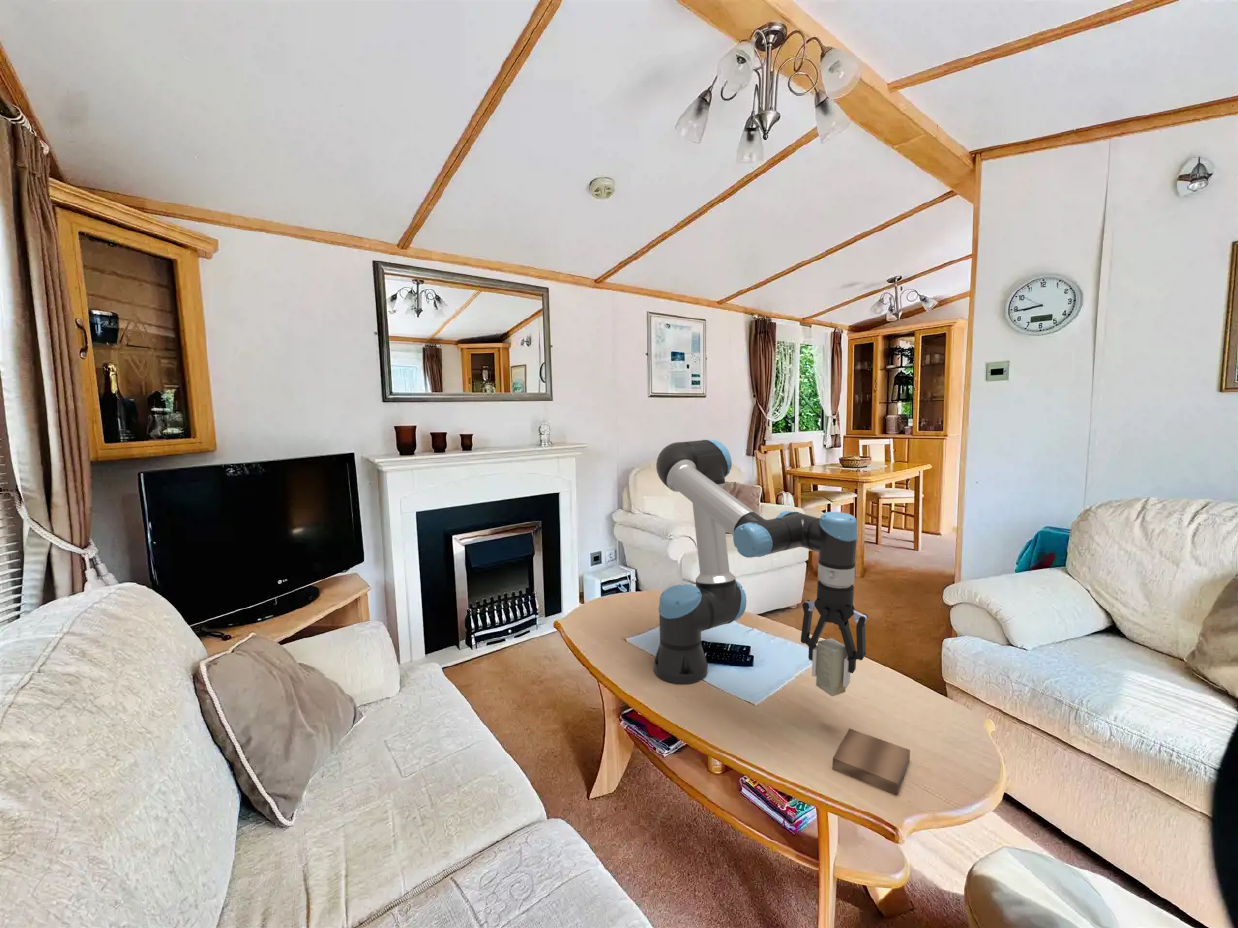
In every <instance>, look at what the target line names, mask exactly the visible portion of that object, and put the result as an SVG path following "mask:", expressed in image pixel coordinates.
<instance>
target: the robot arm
mask: <svg viewBox="0 0 1238 928" xmlns="http://www.w3.org/2000/svg"><path fill="white" fill-rule="evenodd" d="M732 464H733V463H732V457H731V453H730V451H729V450H728V448H727V446H725V445H724V444H723V443H722V442H720V441H719V440H717V439H716V440H715V439H701V440H700V439H699V440H691V441H690V440H689V441H676V442H672V443H670V444H668V445H666V446H665V447H664V448H663V449H662V450H661V451H660V452H659V454H658V456H657V459H656V464H655V469H656V473H657V476H658V477H659V479H660V481H661V482H662V483H663V485H665V486H666V488H667V489H669V490H670V491H672V492H675V493H678V492H679V493H680V494H682V495H683V496H684V497H685V498H687V499H688V500H689V502H692V509H693V512H692V513H693V521H694V529H695V530H694V532H695V540H696V549H697V558H698V565H699V574H698V576H697V577H696V578H695V585H693V584H686V583H683V585H682V584H677V585H673V586H669V587H667V588H666V589H664V590H663V591H662V592H661V594H660V597H659V604H658V613H659V616H658V619H659V645H658V648H657V650H656V654H655V658H654V661H653V671H654V674H655V675H656V676H657V677H658V678H660V679H661V680H663V681H665V682H669V683H672V684H676V685H677V684H681V685H682V684H683V685H686V684H687V685H688V684H693V683H697V682H700V681H701V680H703V679H704V678H706V677H707V675H708V672H709V670H708V666H709V665H708V660H707V658H706V654H705V652H704V649H703V646H702V632H703V631H706V630H707V631H708V630H710V629H713V628H717V627H719V626H723V625H724V626H725V625H727V624H728V625H729V624H731V623H733V622H735V621H737V620H739V619H740V618H741V617H742V616H743V615H744V614H745V611H746V608H747V596H746V595H747V594H746V592H745V589H743V586H742V584H741V583H740V582H739V581H737V579H736V575H734V573H732V572H731V571H730V563H729V554H728V548H727V547H728V546H727V544H728V543H727V535H726V531H727V532H728V533H729V534H730V535H731V536H732V538H733V539H732V541H733V545H734V547H735V548H736V551H737V553H739V555H741V556H743V557H744V558H747V559H748V558H749V559H750V558H751V559H752V558H761V557H765V556H768V555H771V554H776V553H779V552H783V551H788V550H793V549H796V548H805V549H807V550H811V551H814V552H818V562H817V563H818V564H817V567H818V568H817V580H818V581H817V583H816V587H817V588H816V599H815V600H813V601H811V600H810V599H806V600H805V601H804V602H803V603H802V605H801V606H802V610H803V618H802V626H801V634H800V642H801V644H804V645H806V646H808V656H807V657H808V660H809V661H812V662H811V663H812V665H811V667H812V668H811V676H812V677H814V678H816V675H817V652H818V641H820V640H819V639H820V638H821V636H822V632H823V631H824V628H825V626H826V624H827V623H830V624H834V625H837V626H838V630H839V631H840V633H841V636H842V641H843V645H845V648H846V651H847V656H846V658H845V659H844V677H843V687H846V688H848V687H849V685H850V683H851V674H854V672H855V670H856V667H857V660H859V661H863V659H864V658H865V656H866V655H867V651H866V649H867V648H866V644H867V643H866V622H867V620H868V618H869V617H868V614H867V613H861V612H858V611H857V610H856V608H855V606H854V597H855V596H854V593H855V592H854V591H855V586H854V583H855V575H856V572H855V571H856V551H857V541H858V536H859V535H858V520H857V519H856V517H855V516H854V515H852V514H850V513H848V512H847V513H846V512H840V511H827V512H823V513H822V514H820V517H816V516H813V515H809V514H805V513H802V512H800V511H792V510H784V511H781V512H780V514H778V515H777V516H776V517H775V518H770V519H766V518H764V517H762V516H761V515H759V514H758V513H757V512H756V511H754V510H752V508H750V507H748V506H747V505H746V504H745V503H743V502H742V501H740V500H739V499H737V497H735V496H734V495H732V494H730V493H729V492H728V491H727V490H726V489H724V487H725V485H726V477H727V476H728V475H729V474H730V472H731V470H732ZM815 609H816V611H817V612H818V613H819V619H818V621H817V624H816V626H815V628H814V630H813V633H812V636H811V626H812V621H813V611H814V610H815ZM852 617H853V618H854V623H856V627H855V628H856V629H855V630H856V634H855V635H856V646H855V642H854V639H853V635H852V631H851V628H850V622H849V619H851V618H852Z"/></svg>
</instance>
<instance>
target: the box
mask: <svg viewBox="0 0 1238 928" xmlns="http://www.w3.org/2000/svg"><path fill="white" fill-rule="evenodd" d="M817 645H818V652H817V675H816V676H815V678H816V679H815V686H816V687H817V688H819V689H820V690H821V691H823V692H824V693H826V694H827V695H829V696H830V697H835V696H838V695H840V694H844V693H846V690H847V689H846V687H843V677H844V659H845V658H846V656H847V651H846V648H845V644H844V643H841V642H839V641H838V640H836V639H834V638H833V637H831V638H826V639H822V640H818V643H817Z"/></svg>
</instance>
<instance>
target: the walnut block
mask: <svg viewBox="0 0 1238 928" xmlns="http://www.w3.org/2000/svg"><path fill="white" fill-rule="evenodd" d="M840 742H841V743H840V744H839V745H838V748H837V749H836V752H834V753H835V754H834V755H833V757H832V770H834V771H837V772H838V773H840V774H844V775H846V776H848V777H851V778H853V779H855V780H858V781H861V782H863V783H865V784H868V785H869V786H872V787H875V788H877V789H880V790H882V791H885V792H888V793H889V794H892V795H895V796H898V795H899V791H900V789H901V786H902V783H903V781H904V778H905V775H906V772H907V768H908V767H909V763H910V759H911V758H910V756H911V755H910V754H911V749H908V748H906V747H904V746H900V745H898V744H895V743H892V742H889V741H886V740H884V739H883V740H882V739H881V738H878V737H875V736H872V735H870V734H866V733H865V732H861V731H858V730H856V729H852V728H848V730H847V731H846V734H845V736H844V737H843V739H842V741H840Z"/></svg>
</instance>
